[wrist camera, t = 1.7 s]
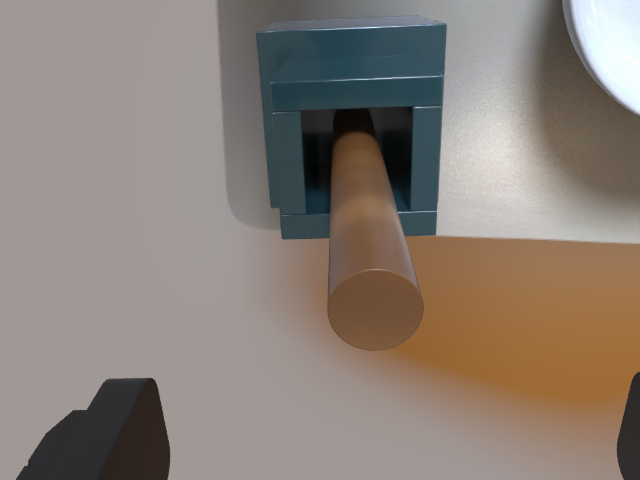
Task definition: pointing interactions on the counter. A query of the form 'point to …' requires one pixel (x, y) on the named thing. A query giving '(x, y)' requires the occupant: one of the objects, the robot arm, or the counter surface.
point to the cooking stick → (367, 243)
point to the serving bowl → (608, 45)
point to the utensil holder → (352, 93)
